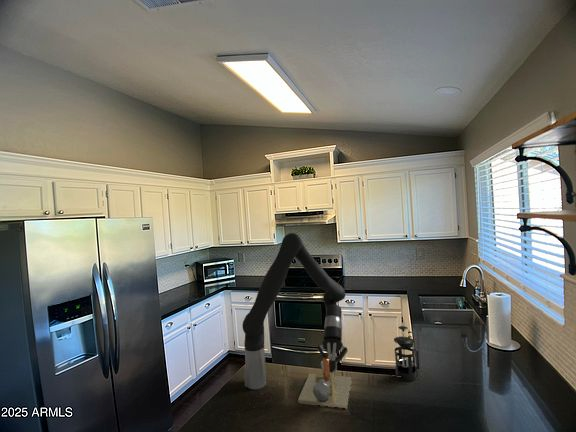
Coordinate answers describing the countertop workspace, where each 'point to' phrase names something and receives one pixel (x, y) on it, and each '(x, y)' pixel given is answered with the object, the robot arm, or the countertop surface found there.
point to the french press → (406, 364)
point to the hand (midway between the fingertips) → (331, 371)
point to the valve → (326, 390)
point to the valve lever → (326, 370)
